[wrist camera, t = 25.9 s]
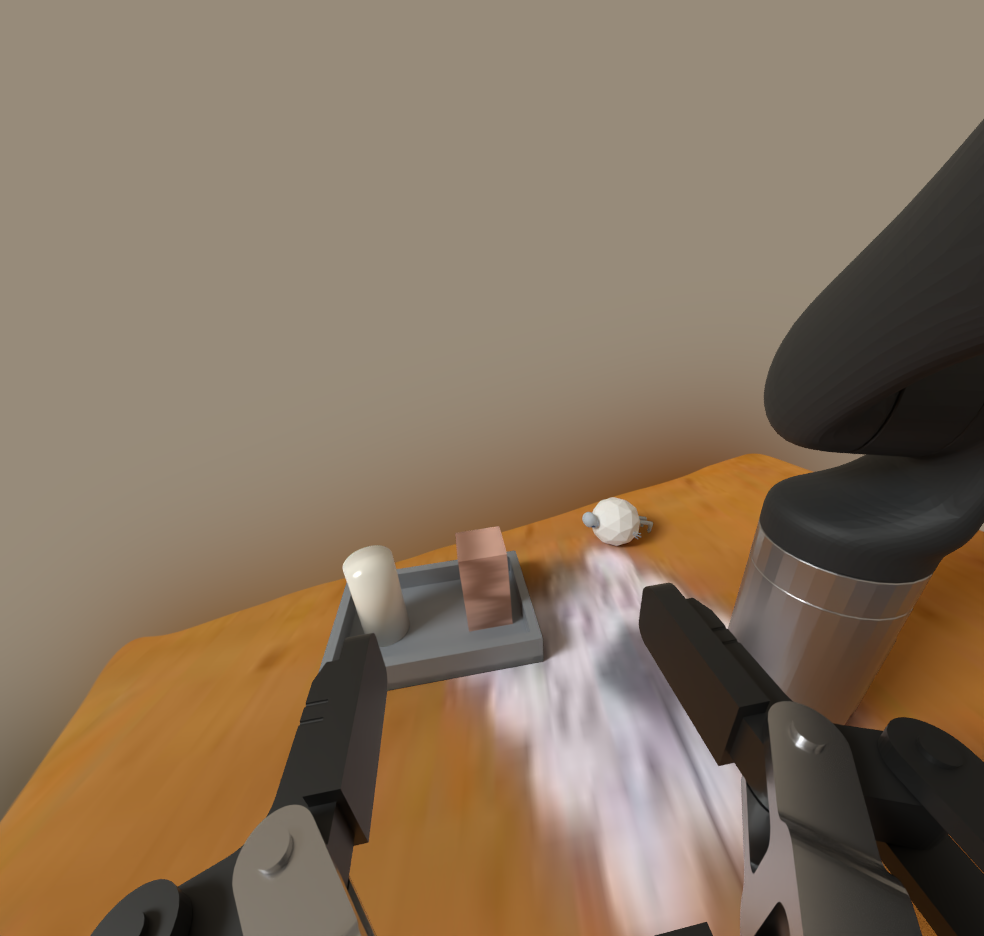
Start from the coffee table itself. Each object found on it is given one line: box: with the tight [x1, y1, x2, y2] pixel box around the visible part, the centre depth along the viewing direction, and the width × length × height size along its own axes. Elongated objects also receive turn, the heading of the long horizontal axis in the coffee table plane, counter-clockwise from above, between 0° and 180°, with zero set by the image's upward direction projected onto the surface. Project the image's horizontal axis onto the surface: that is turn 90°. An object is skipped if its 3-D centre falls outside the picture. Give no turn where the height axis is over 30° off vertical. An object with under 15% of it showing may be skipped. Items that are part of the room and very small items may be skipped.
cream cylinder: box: [343, 545, 410, 647], centre depth 40 cm, size 5×5×10 cm
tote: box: [319, 551, 543, 691], centre depth 42 cm, size 22×14×4 cm, turn 98°
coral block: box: [456, 527, 513, 632], centre depth 41 cm, size 5×5×10 cm
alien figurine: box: [582, 497, 653, 546], centre depth 54 cm, size 7×7×12 cm
